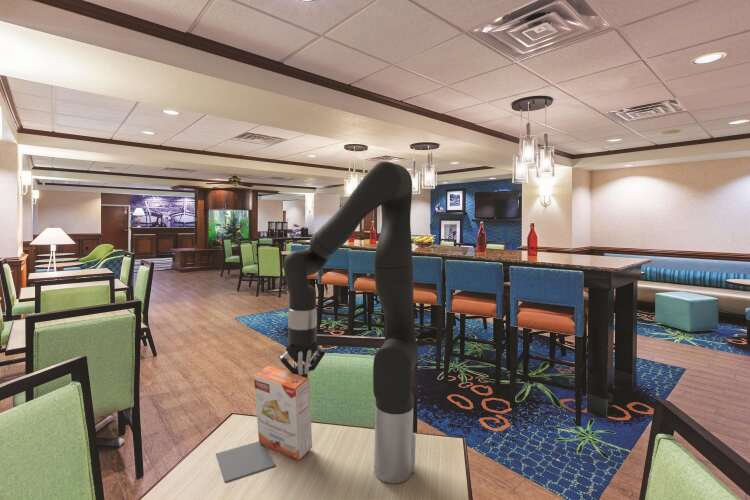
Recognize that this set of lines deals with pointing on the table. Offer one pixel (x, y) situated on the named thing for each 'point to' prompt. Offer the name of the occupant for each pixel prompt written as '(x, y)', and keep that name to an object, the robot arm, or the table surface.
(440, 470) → the table surface
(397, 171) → the robot arm
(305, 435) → the cracker box
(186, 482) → the table surface
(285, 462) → the table surface
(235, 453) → the mat
